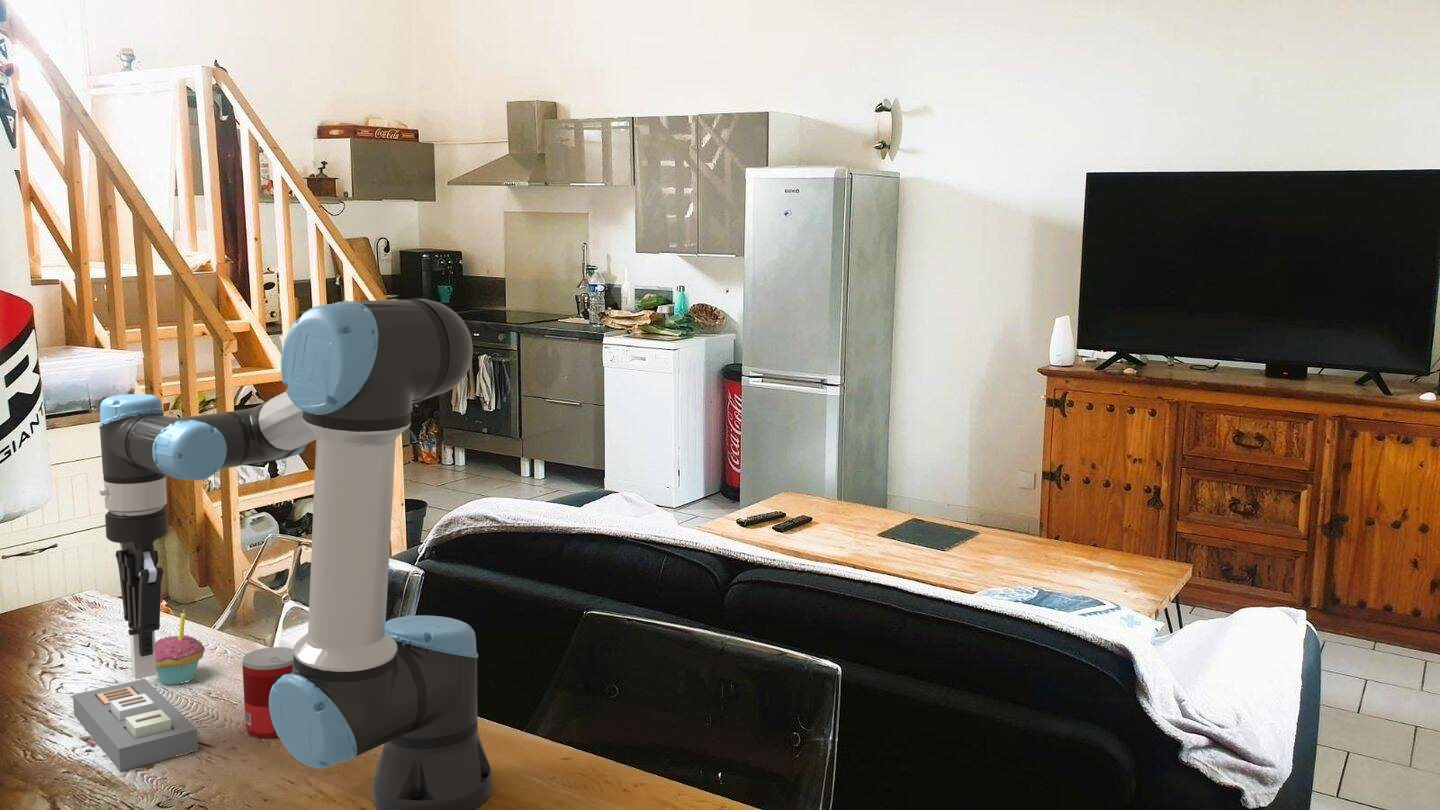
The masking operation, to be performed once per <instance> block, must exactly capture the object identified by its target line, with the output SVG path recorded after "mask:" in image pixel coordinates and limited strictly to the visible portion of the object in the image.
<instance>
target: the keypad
mask: <svg viewBox="0 0 1440 810" xmlns="http://www.w3.org/2000/svg"><path fill="white" fill-rule="evenodd" d="M126 687H131V688H132V689H133V690H134V691H135V692H136V693H137V694H138V695H140V694H144V693H145V694H146V695H147V696H148V697H149V698H150V699H151V700H152V701H153V702H154V706H155V710H160V709H161V710H162V711H163V712H164V713H165V714H166V715H167V716H168V717H169V718H170V719H171V729H172V730H170V731H166V732H162V733H158V734H154V735H150V736H146V737H142V738H138V739H133V738H132V736H131V735H130V734H129V733H128V732H127V731H126V720H124V721H120V722H118V721H117V720H116V719H115V718H114V716H113V715H112V714H111V704H108V705H103V704H102V703H101V702H100V701H99V700H98V699H97V694H100V693H104V692H109V691H113V690H117V689H122V688H126ZM72 701H73V703H72V704H73V716H74V718H76V720H77V721H78V722H79V723H80V724H81V725H82V727H83V728H84V729H85V730H86V732H87V733H88V734H89V736H91V738H92V739H93V740H94V742H95V743H96V744H97V745H98V746H99V747H100V749H101V750H102V751H103V752H104V753H105V755H106V756H107V757H108V759H109V760H110V761H111V762H112V763H113V765H114V766H115V768H116V769H117V770H118V771H119V772H120V773H121V772H124V771H127V770H131V769H136V768H140V767H143V766H147V765H150V764H154V763H158V762H161V761H166V760H169V759H168V758H170V757H173V758H175V757H174V756H176V755H180V754H185V753H188V752H191V751H196V750H198V751H199V743H198V741H199V739H198V729H197V728H196V727H195V725H194V724H192V723H191V722H190V721H189V720H188V719H187V718H186V717H185V716H184V715H183V714H182V713H181V711H179V710H178V708H176V707H175V706H174V705H173V704H172V703H171V702H169V700H167V699H166V698H165V697H164V695H162V694H161V693H160V691H158V689H156V688H155V687H154V686H153V685H152V684H151V682H149V681H148V680H147V679H146V678H141V679H136V680H134V681H129V682H124V683H119V684H115V685H111V686H105V687H102V688H97V689H92V690H88V691H84V692H78V693H76V694H75V693H74V694H72ZM196 752H197V751H196ZM188 754H189V753H188ZM185 755H186V754H185ZM165 759H166V760H165ZM170 759H171V758H170Z"/></svg>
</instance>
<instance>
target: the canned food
mask: <svg viewBox="0 0 1440 810" xmlns="http://www.w3.org/2000/svg"><path fill="white" fill-rule="evenodd" d="M293 652H294V648H291V647H284V646H283V647H282V646H273V647H270V646H269V647H265V648H259V649H256V650H253V651H250V652H248V653H247V654H245V655H244V656H243V657H242V684H243V705H244V722H245V725H244V726H245V729H246V731H247V732H248V734H249V733H250V734H249V735H250V736H252V735H253V737H255V736H257V737H256V738H259V737H263V738H262V739H271V738H270V737H275V738H279V737H278V735H277V733H276V731H275V728H274V726H273V723H272V720H271V716H270V710H269V695H270V691H271V688H272V686H273V685H274V684H275V683H276V682H277V680H278V679H280V678H281V677H282V676H283V675H285V674H291V673H292V671H293ZM264 737H265V738H264ZM266 737H267V738H266ZM268 737H269V738H268Z"/></svg>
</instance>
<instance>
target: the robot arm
mask: <svg viewBox="0 0 1440 810" xmlns="http://www.w3.org/2000/svg"><path fill="white" fill-rule="evenodd" d="M288 330H289V331H287V333H286V336H285V339H284V342H283V347H282V350H281V354H280V355H281V356H280V373H281V374H280V375H281V381H282V383H283V385H285V386H287V388H286V390H285V391H284V392H282V393H280V394H279V395H276V396H274V397H272V398H271V399H269V400H267V401H265V402H263V403H260V404H258V405H256V406H255V407H251V408H246V409H240V410H234V411H233V410H231V411H225V412H218V413H210V414H201V415H194V416H193V415H192V416H187V417H172V416H167V415H166V416H165V413H164V412H165V411H164V409H163V404H162V401H161V399H160V398H159V396H157V395H154V394H147V393H146V394H145V393H134V394H133V393H131V394H129V393H128V394H127V393H126V394H119V395H111V396H108V397H106V398H104V399H102V401H101V402H100V406H99V411H100V412H99V413H100V414H99V417H100V420H99V421H100V422H99V424H98V429H99V435H100V437H99V438H100V452H101V464H102V474H103V477H102V478H103V485H104V488H100V489H99V495H100V496H101V497H104V508H105V509H107V512H106V514H105V515H104V521H105V536H106V539H107V540H108V541H110V542H112V543H115V544H121V549H120V550H119V549H118V550H116V551H115V557H116V562H117V566H118V573H119V581H120V589H121V590H120V591H121V599H122V605H123V607H122V608H123V618H124V620H125V622H128V623H127V627H128V628H129V629H128V635H129V636H130V655H131V658H130V659H131V675H132V678H134V679H135V680H141V679H145V678H149V677H154V676H157V675H158V673H157V671H156V653H155V643H156V638H155V635H156V633H155V631H158V630H160V627H161V600H162V599H161V597H162V596H161V593H162V579H163V574H164V569H163V567H162V566H158V567H157V565H158V563H159V553H158V551H157V550H155V546H154V542H155V541H156V540H159V539H162V538H164V537H165V536H166V535H167V534H168V531H169V527H168V523H169V522H168V511H167V509H166V508H165V507H164V506H165V505H166V504H168V495H167V478H166V476H167V477H170V478H172V479H178V480H180V481H188V480H189V481H203V480H206V479H208V478H211V476H213V475H214V474H216V473H217V472H218V471H219V470H224V469H230V468H235V467H240V466H244V465H250V464H257V463H258V464H259V463H262V462H264V463H265V462H270V461H281V460H285V459H288V458H291V457H294V456H298V455H300V454H301V453H303V452H304V451H305V449H306V447H307V446H308V445H309V443H312V442H314V441H315V459H314V460H315V462H314V463H315V464H314V479H313V480H314V481H313V483H314V485H313V507H312V531H311V533H312V535H311V551H310V552H311V555H310V556H311V558H310V578H309V580H310V581H309V602H308V603H309V605H308V624H307V625H308V626H307V628H308V629H307V633H306V634H304V635H303V636H302V637H301V638H299V639H298V640H297V641H296V643H295V644H294V646H293V649H294V652H293V671H292V673H291V674H285V675H283V676H282V677H281V678H280V679H278V680H277V682H276V683H275V684H274V685H273V686H272V688H271V691H270V695H269V710H270V716H271V720H272V723H273V726H274V728H275V731H276V733H277V735H278V737H277V738H278V739H280V741H281V743H282V745H283V747H285V750H287V752H288V753H290V755H291V756H292V757H293V758H295V760H297V761H298V762H299V763H301V764H303V765H305V766H307V767H308V768H309V767H310V768H312V769H319V770H320V769H322V770H323V769H327V768H331V767H334V766H337V765H339V764H342V763H347V762H351V761H352V760H354V759H355V758H356V757H358V756H360V755H362V754H364V753H366V752H368V751H371V750H374V749H375V748H378V747H380V746H382V749H381V753H380V755H379V758H378V761H377V765H376V769H375V771H374V775H373V778H372V782H371V783H372V784H371V794H372V795H371V797H372V798H371V800H372V803H373V805H374V807H375V808H376V809H377V810H473V809H476V808H478V807H480V805H482V804H483V803H484V802H485V801H487V800H488V798H490V796H491V795H492V791H493V771H492V767H491V764H490V762H489V759H488V757H487V754H486V751H485V748H484V745H483V742H482V740H481V738H480V737H481V736H480V735H479V730H478V729H479V726H478V658H479V653H478V652H477V651H478V650H477V639H476V638H477V637H476V632H475V630H474V629H473V628H472V626H471V625H470V624H468V623H466V622H464V621H462V620H459V619H455V618H452V617H447V616H438V615H424V614H423V615H420V614H419V615H406V616H399V617H398V616H397V617H395V618H391V619H388V620H387V621H386V619H387V604H388V603H387V602H388V584H389V571H390V570H389V568H390V567H389V566H390V565H389V564H390V552H391V551H390V547H391V531H392V514H393V513H392V511H393V498H394V495H393V494H394V478H395V476H394V475H395V460H396V447H397V446H396V443H397V439H398V437H400V435H401V434H403V433H404V432H405V431H406V430H407V429H408V428H410V427H411V424H412V422H411V420H412V409H413V408H412V407H413V403H415V404H416V403H420V402H423V401H426V400H427V399H431V398H433V397H435V396H439V395H442V394H445V393H447V392H449V391H450V390H452V389H454V388H455V387H456V386H458V385H459V384H460V383H461V382H462V381H463V380H464V378H465V377H466V375H467V374H468V372H469V369H470V368H471V364H472V361H473V353H474V352H473V351H474V348H473V341H472V339H473V338H472V336H471V332H470V331H469V330H470V329H468V326H467V325H466V323H465V321H464V320H463V319H462V317H461V316H459V314H458V313H456V312H455V311H454V310H453V309H452V308H451V307H449V306H446V305H445V304H443V303H441V302H438V301H435V300H431V299H427V298H406V299H388V300H387V299H385V300H383V299H382V300H381V299H379V300H353V301H352V300H351V301H350V300H343V301H338V302H335V303H330V304H321V305H317V306H314V307H312V308H309V309H308V310H306V311H305V312H303V313H302V315H301V316H300V318H297V319H296V320H295V321H294V323H293V324H292V325H291V327H290V329H288Z"/></svg>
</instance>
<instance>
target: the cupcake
mask: <svg viewBox="0 0 1440 810" xmlns="http://www.w3.org/2000/svg"><path fill="white" fill-rule="evenodd" d="M179 620H180V622H179V631H178V632H179V633H178V635H174V636H173V635H172V636H167V637H166V636H165V637H163V638H159V639H158V640H155V653H156V674H157V675H158V677H159V680H160V682H161V683H162V684H163V683H164V685H166V684H177V683H181V682H185V681H188V680H191V679H192V678H193V677H194V678H195V673H196V670H197V666H198V664H199V662H200V660H202V659H203V657H204V652H205V651H206V648H205V646H204V645H203V644H202V642H201V641H200V640H198V639H196V638H195V637H193V636H190V635H186V634H184V633H185V621H186V608H184V609H183V611H182V613H180V619H179ZM194 678H193V679H194ZM193 679H192V680H193ZM192 680H191V681H192Z"/></svg>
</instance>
